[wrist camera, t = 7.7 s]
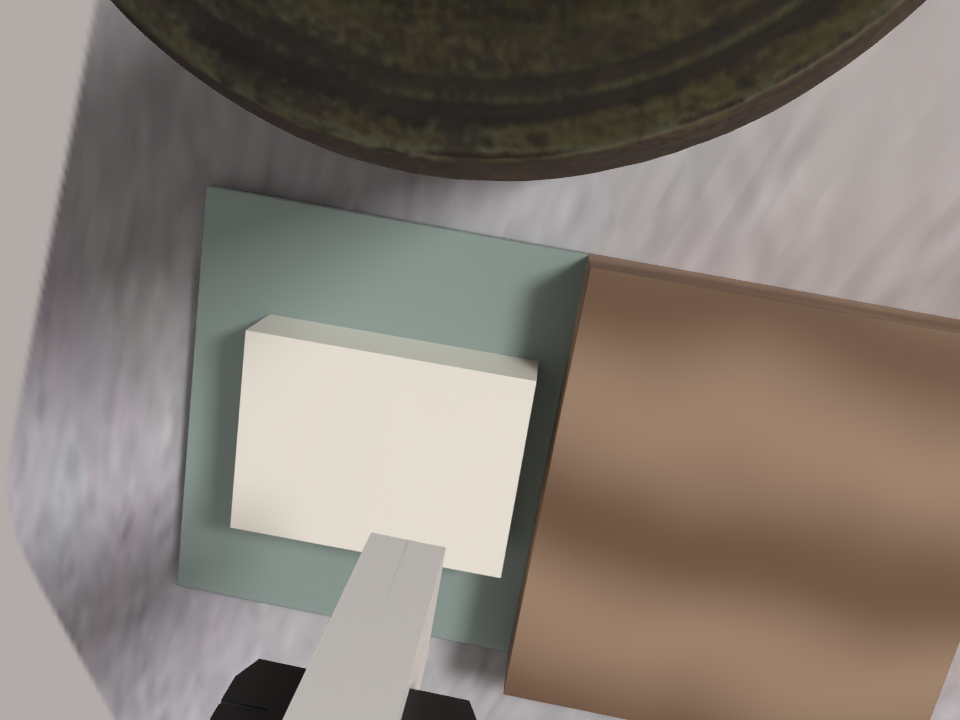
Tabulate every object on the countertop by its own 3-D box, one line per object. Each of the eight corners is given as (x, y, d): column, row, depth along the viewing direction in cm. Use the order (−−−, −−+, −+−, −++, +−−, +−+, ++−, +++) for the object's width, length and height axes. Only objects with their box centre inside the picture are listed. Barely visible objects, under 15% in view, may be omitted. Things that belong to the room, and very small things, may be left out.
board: (587, 253, 24) (591, 267, 22) (1016, 330, 23) (1068, 353, 21) (508, 644, 28) (503, 693, 25) (878, 718, 27) (908, 776, 25)
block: (270, 314, 25) (245, 330, 23) (538, 361, 25) (536, 381, 23) (254, 498, 27) (230, 527, 25) (505, 544, 26) (500, 577, 24)
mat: (211, 185, 24) (206, 186, 24) (587, 253, 24) (588, 255, 24) (182, 578, 28) (177, 585, 28) (508, 644, 28) (508, 651, 27)
